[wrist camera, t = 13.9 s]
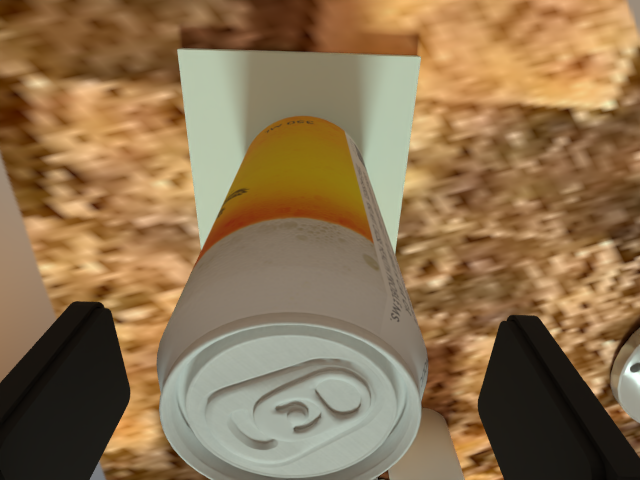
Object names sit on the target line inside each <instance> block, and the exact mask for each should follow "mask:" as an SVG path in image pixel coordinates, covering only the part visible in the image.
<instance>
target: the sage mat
mask: <svg viewBox="0 0 640 480" xmlns="http://www.w3.org/2000/svg"><path fill="white" fill-rule="evenodd" d="M177 50H178V59H179V67H180V76H181V84H182V93H183V101H184V109H185V118H186V126H187V135H188V143H189V152H190V160H191V168H192V177H193V185H194V194H195V202H196V210H197V219H198V227H199V236H200V244H201V250H202V248H203V246H204V244H205V242H206V239H207V237H208V235H209V233H210V231H211V229H212V226H213V224H214V222H215V220H216V218H217V215H218V213H219V211H220V209H221V207H222V205H223V202H224V200H225V198H226V196H227V194H228V191H229V189H230V187H231V185H232V183H233V181H234V178H235V176H236V174H237V172H238V170H239V168H240V165H241V163H242V161H243V159H244V157H245V154H246V152H247V150H248V148H249V146H250V145H251V143H252V141H253V140H254V139H255V138H256V136H257V135H258V134H259V133H260V132H261V131H262V130H264V129H265V128H266V127H268V126H269V125H271V124H273V123H274V122H277V121H279V120H281V119H285V118H288V117H293V116H312V117H318V118H321V119H325V120H327V121H329V122H332V123H334V124H335V125H337V126H339V127H340V128H341V129H343V130H344V131H345V132H346V133H347V134H348V135H349V136H350V137H351V138H352V139H353V141H354V142H355V143H356V145H357V147H358V148H359V151H360V153H361V155H362V158H363V161H364V164H365V167H366V170H367V173H368V176H369V179H370V182H371V185H372V188H373V191H374V194H375V197H376V200H377V203H378V206H379V209H380V212H381V215H382V218H383V221H384V224H385V227H386V230H387V233H388V236H389V239H390V242H391V245H392V248H393V251H394V254H395V250H396V242H397V235H398V227H399V220H400V212H401V204H402V197H403V189H404V182H405V174H406V167H407V159H408V151H409V144H410V136H411V129H412V121H413V113H414V106H415V98H416V91H417V83H418V76H419V68H420V60H421V57H420V56H417V55H387V54H356V53H324V52H293V51H261V50H229V49H198V48H180V49H177Z"/></svg>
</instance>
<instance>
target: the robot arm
mask: <svg viewBox="0 0 640 480" xmlns="http://www.w3.org/2000/svg"><path fill="white" fill-rule="evenodd" d="M611 388H612V392H613V395H614V397H615V398H616V400H617V401H618V403H619V404H620V406H621V407H622V408H623V409H624V411H625V412H626V413H627V414H628V415H629V416H630V417H631V418H633V419H634V420H636V421H637V422H639V423H640V328H639V329H637V330H636V331H635V332H634V333H633V334H632V335H631V337H630V338H629V339H628V340H627V342H626V343H625V344H624V345H623V347H622V348H621V350H620V352H619V354H618V356H617V358H616V359H615V361H614V365H613V368H612V372H611ZM129 399H130V386H129V382H128V378H127V374H126V370H125V366H124V362H123V358H122V354H121V350H120V346H119V342H118V338H117V334H116V330H115V325H114V321H113V317H112V313H111V311H110V310H109V309H107V308H104V305H103V304H102V303H100V302H80V301H76V302H73V303H72V304H70V305H69V307H68V308H67V309H66V310H65V311H64V312H63V313H62V314H61V316H60V317H59V318H58V319H57V320H56V321H55V322H54V323H53V324H52V326H51V327H50V328H49V329H48V330H47V331H46V332H45V333H44V335H43V336H42V337H41V338H40V339H39V340H38V341H37V342H36V344H35V345H34V346H33V347H32V348H31V349H30V350H29V351H28V352H27V354H26V355H25V356H24V357H23V358H22V359H21V360H20V361H19V362H18V364H17V365H16V366H15V367H14V368H13V369H12V370H11V371H10V373H9V374H8V375H7V376H6V377H5V378H4V379H3V380H2V382H1V383H0V480H89V479H90V477H91V475H92V474H93V472H94V470H95V468H96V466H97V464H98V462H99V460H100V458H101V456H102V454H103V452H104V450H105V448H106V446H107V444H108V442H109V440H110V438H111V436H112V435H113V433H114V431H115V429H116V427H117V425H118V423H119V421H120V419H121V417H122V415H123V413H124V411H125V409H126V407H127V405H128V403H129ZM478 412H479V415H480V418H481V421H482V423H483V426H484V429H485V431H486V434H487V436H488V439H489V441H490V444H491V447H492V449H493V452H494V454H495V457H496V459H497V462H498V465H499V467H500V470H501V472H502V475H503V477H504V480H640V458H639V456H638V455H637V454H636V452H635V451H634V449H633V448H632V447H631V445H630V444H629V442H628V441H627V440H626V438H625V437H624V435H623V434H622V433H621V431H620V430H619V428H618V427H617V426H616V424H615V423H614V421H613V420H612V419H611V417H610V416H609V415H608V413H607V412H606V410H605V409H604V408H603V406H602V405H601V403H600V402H599V401H598V399H597V398H596V396H595V395H594V394H593V392H592V391H591V389H590V388H589V387H588V385H587V384H586V382H585V381H584V380H583V379H582V377H581V376H580V375H579V373H578V372H577V370H576V369H575V368H574V366H573V365H572V363H571V362H570V361H569V359H568V358H567V356H566V355H565V354H564V352H563V351H562V349H561V348H560V347H559V345H558V344H557V342H556V341H555V340H554V338H553V337H552V335H551V334H550V333H549V331H548V330H547V328H546V327H545V326H544V324H543V323H542V321H541V320H540V319H539V318H538V317H537V316H528V315H511V316H509V317H508V319H507V321H502V322H501V323H500V325H499V329H498V332H497V336H496V339H495V343H494V346H493V350H492V353H491V357H490V360H489V364H488V367H487V371H486V374H485V378H484V381H483V385H482V388H481V392H480V395H479V399H478Z"/></svg>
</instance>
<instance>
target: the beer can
mask: <svg viewBox="0 0 640 480" xmlns="http://www.w3.org/2000/svg"><path fill="white" fill-rule="evenodd" d="M157 373H158V380H159V385H160V390H161V396H160V406H159V411H160V420H161V424H162V427H163V430H164V433H165V435H166V437H167V439H168V441H169V442H170V444H171V446H172V447H173V449H174V450H175V451H176V452H177V453H178V455H179V456H180V457H181V458H182V459H183V460H184V461H185V462H186V463H188V464H189V465H190V466H191V467H193V468H194V469H195V470H197V471H198V472H199V473H201V474H203V475H204V476H206V477H208V478H209V479H211V480H372V479H374V478H376V477H378V476H379V475H381V474H382V473H384V472H385V471H387V470H388V469H390V468H391V467H392V466H393V465H394V464H395V463H397V462H398V461H399V460H400V459H401V457H402V456H403V455H404V454H405V453H406V452H407V450H408V449H409V448H410V446H411V445H412V443H413V441H414V439H415V437H416V435H417V432H418V429H419V426H420V421H421V400H422V397H423V393H424V390H425V386H426V382H427V376H428V357H427V350H426V347H425V344H424V341H423V337H422V334H421V331H420V329H419V326H418V323H417V320H416V317H415V314H414V311H413V308H412V305H411V302H410V299H409V296H408V293H407V290H406V287H405V284H404V281H403V278H402V275H401V272H400V269H399V266H398V263H397V260H396V257H395V254H394V251H393V248H392V245H391V242H390V239H389V236H388V233H387V230H386V227H385V224H384V221H383V218H382V215H381V212H380V209H379V206H378V203H377V200H376V197H375V194H374V191H373V188H372V185H371V182H370V179H369V176H368V173H367V170H366V167H365V164H364V161H363V158H362V155H361V153H360V151H359V148H358V147H357V145H356V143H355V142H354V141H353V139H352V138H351V137H350V136H349V135H348V134H347V133H346V132H345V131H344V130H343V129H341V128H340V127H339V126H337V125H335V124H334V123H332V122H329V121H327V120H325V119H321V118H318V117H312V116H293V117H288V118H285V119H281V120H279V121H277V122H274V123H273V124H271V125H269V126H268V127H266V128H265V129H264V130H262V131H261V132H260V133H259V134H258V135H257V136H256V138H255V139H254V140H253V141H252V143H251V145H250V146H249V148H248V150H247V152H246V154H245V157H244V159H243V161H242V163H241V165H240V168H239V170H238V172H237V174H236V176H235V178H234V181H233V183H232V185H231V187H230V189H229V191H228V194H227V196H226V198H225V200H224V202H223V205H222V207H221V209H220V211H219V213H218V215H217V218H216V220H215V222H214V224H213V226H212V229H211V231H210V233H209V235H208V237H207V239H206V242H205V244H204V246H203V248H202V250H201V252H200V255H199V257H198V259H197V261H196V263H195V266H194V268H193V270H192V272H191V274H190V276H189V279H188V281H187V283H186V285H185V287H184V289H183V292H182V294H181V296H180V298H179V300H178V303H177V305H176V307H175V309H174V311H173V313H172V316H171V318H170V320H169V322H168V324H167V326H166V329H165V331H164V333H163V336H162V338H161V341H160V344H159V349H158V353H157Z"/></svg>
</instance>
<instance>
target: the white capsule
mask: <svg viewBox="0 0 640 480" xmlns="http://www.w3.org/2000/svg"><path fill="white" fill-rule="evenodd" d="M388 473H389V479H390V480H465V479H464V475H463V472H462V469H461V466H460V463H459V460H458V457H457V454H456V451H455V448H454V445H453V441H452V438H451V435H450V432H449V429H448V426H447V423H446V420H445V419H444V417H443V416H442V415H441V414H440V413H438V412H436V411H434V410H432V409H428V408H421V421H420V426H419V429H418V432H417V435H416V437H415V439H414V441H413V443H412V445H411V446H410V448H409V449H408V450H407V452H406V453H405V454H404V455H403V456H402V457H401V459H400V460H399V461H398V462H397V463H395V464H394V465H393V466H392V467H391V468H390V469H388Z"/></svg>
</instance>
